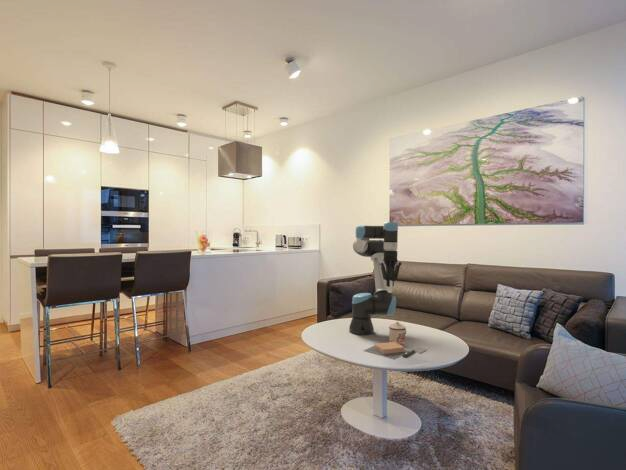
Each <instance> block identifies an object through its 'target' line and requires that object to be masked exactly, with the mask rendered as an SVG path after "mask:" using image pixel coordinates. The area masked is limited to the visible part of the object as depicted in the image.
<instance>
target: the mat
mask: <svg viewBox="0 0 626 470" xmlns="http://www.w3.org/2000/svg"><path fill="white" fill-rule="evenodd" d="M363 352H366V353H369V354H373V355H377V356H380V357H384V358H388V359H391V360H396V359H398V358H401V357H403V355H404V354H406V353H408V352H410V350H407V349H404V352H401V353H392V354H384V355H383V354H382V353H380V352H379V351H377V350H376V349H375V345H373V346H370V347H368V348H366V349H364V350H363Z"/></svg>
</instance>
